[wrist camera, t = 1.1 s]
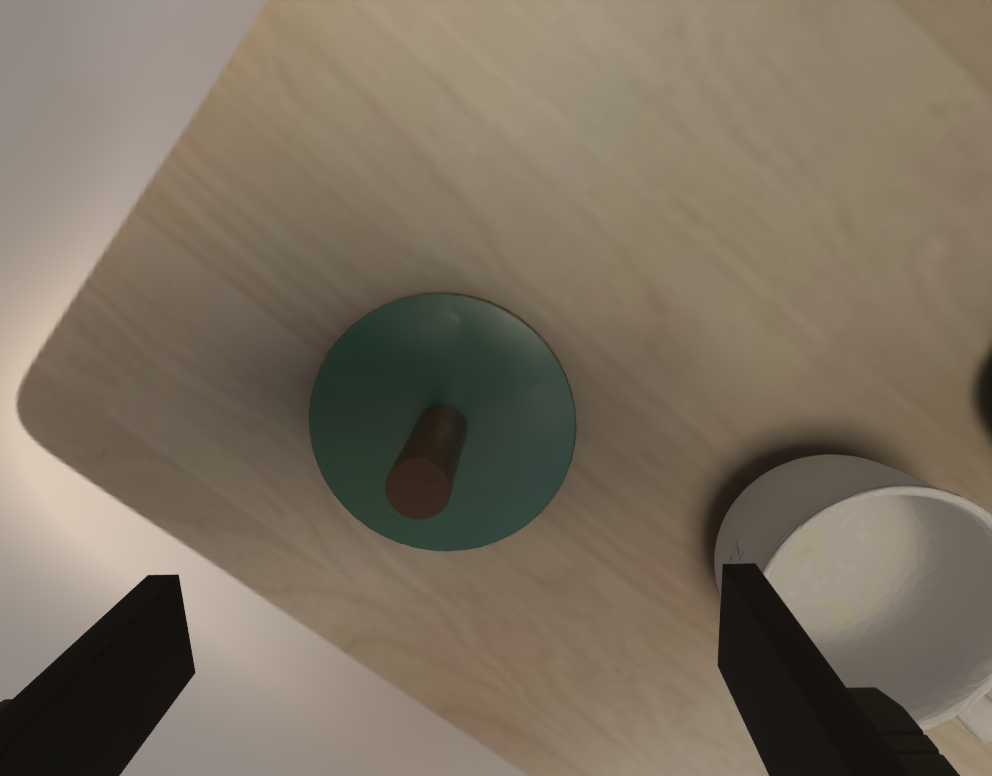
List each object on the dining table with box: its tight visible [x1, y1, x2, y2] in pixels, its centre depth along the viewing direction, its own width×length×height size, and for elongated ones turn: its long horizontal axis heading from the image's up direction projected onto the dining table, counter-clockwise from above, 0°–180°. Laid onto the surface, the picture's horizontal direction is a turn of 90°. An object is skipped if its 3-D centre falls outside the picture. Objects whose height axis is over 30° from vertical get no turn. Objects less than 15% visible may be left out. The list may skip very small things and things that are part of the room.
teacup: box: [714, 454, 992, 743], centre depth 28 cm, size 14×11×8 cm
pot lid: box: [309, 293, 576, 551], centre depth 27 cm, size 13×13×9 cm
